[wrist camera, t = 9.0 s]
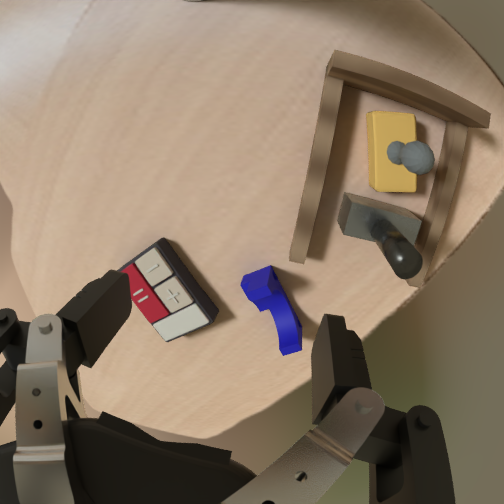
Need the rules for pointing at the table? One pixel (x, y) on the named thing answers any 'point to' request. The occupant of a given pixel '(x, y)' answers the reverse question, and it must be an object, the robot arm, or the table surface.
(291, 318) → the blue pipe saddle
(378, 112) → the rubber stamp
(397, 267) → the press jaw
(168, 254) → the calculator
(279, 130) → the table surface
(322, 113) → the frame
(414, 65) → the table surface
